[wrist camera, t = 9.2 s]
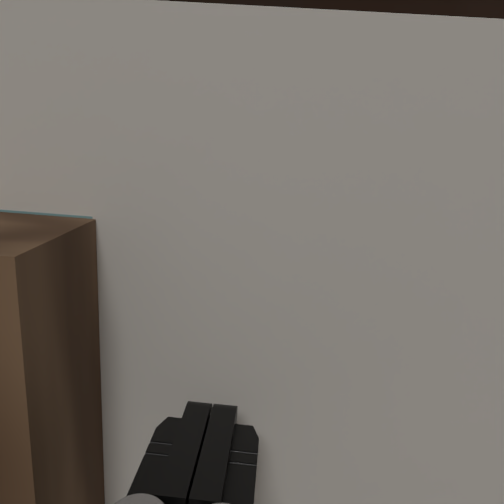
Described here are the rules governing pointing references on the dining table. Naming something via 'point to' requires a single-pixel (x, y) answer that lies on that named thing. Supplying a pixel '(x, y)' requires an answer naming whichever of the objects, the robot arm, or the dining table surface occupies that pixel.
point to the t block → (49, 361)
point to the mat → (280, 230)
